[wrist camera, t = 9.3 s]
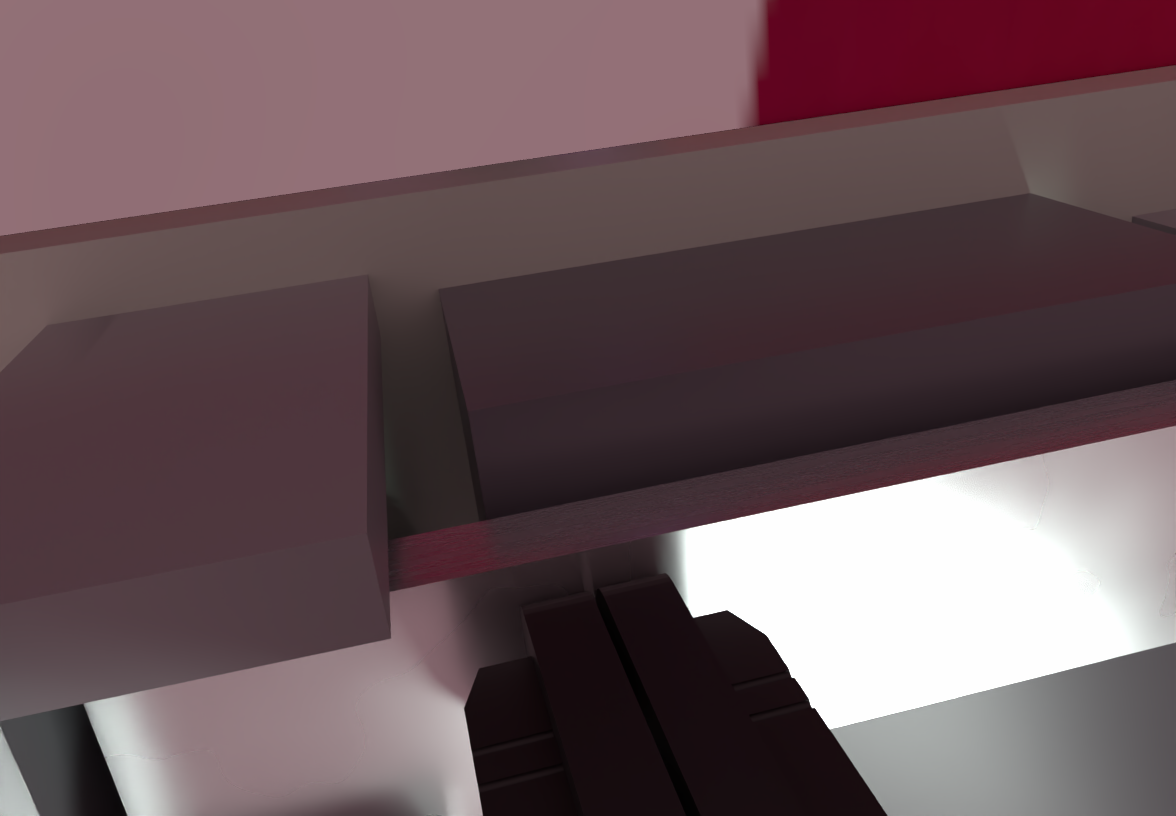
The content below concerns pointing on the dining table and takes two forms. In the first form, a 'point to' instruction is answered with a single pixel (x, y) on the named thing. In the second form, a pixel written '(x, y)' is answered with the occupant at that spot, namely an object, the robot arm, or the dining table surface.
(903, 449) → the strap
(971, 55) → the dining table surface
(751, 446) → the base
